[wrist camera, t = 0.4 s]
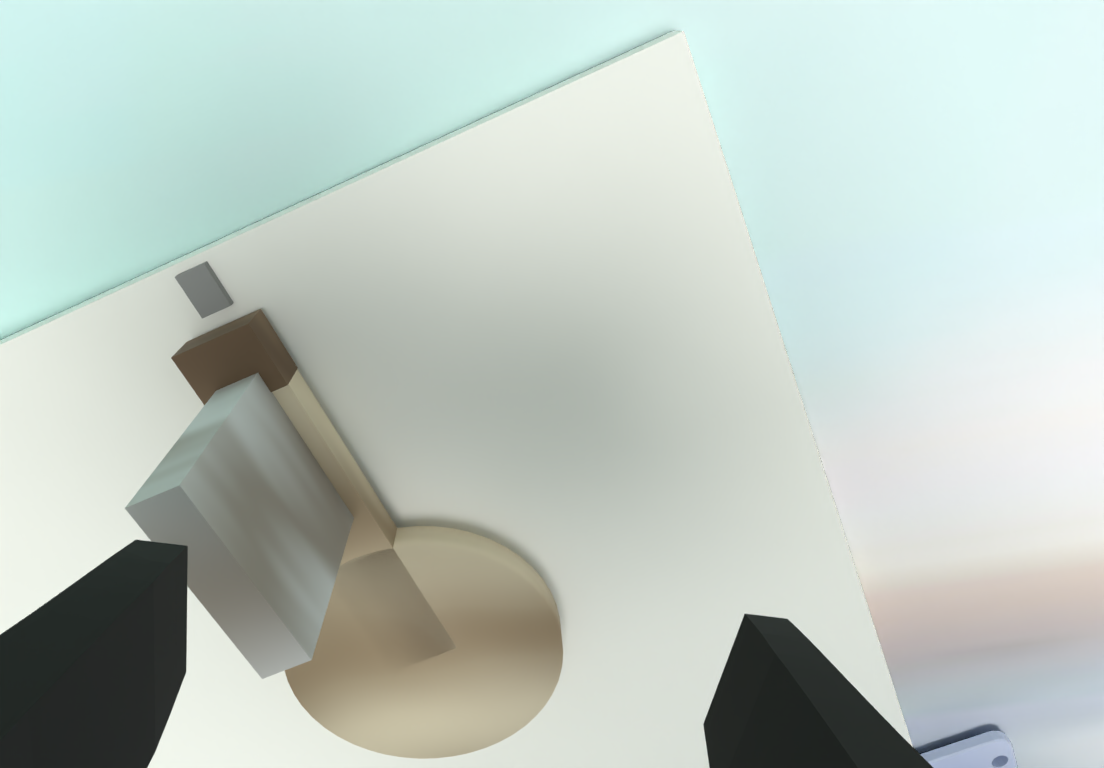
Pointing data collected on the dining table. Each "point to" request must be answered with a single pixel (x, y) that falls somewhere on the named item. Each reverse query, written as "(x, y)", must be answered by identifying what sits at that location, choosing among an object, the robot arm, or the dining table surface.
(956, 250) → the dining table surface
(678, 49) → the dial base
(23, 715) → the robot arm
